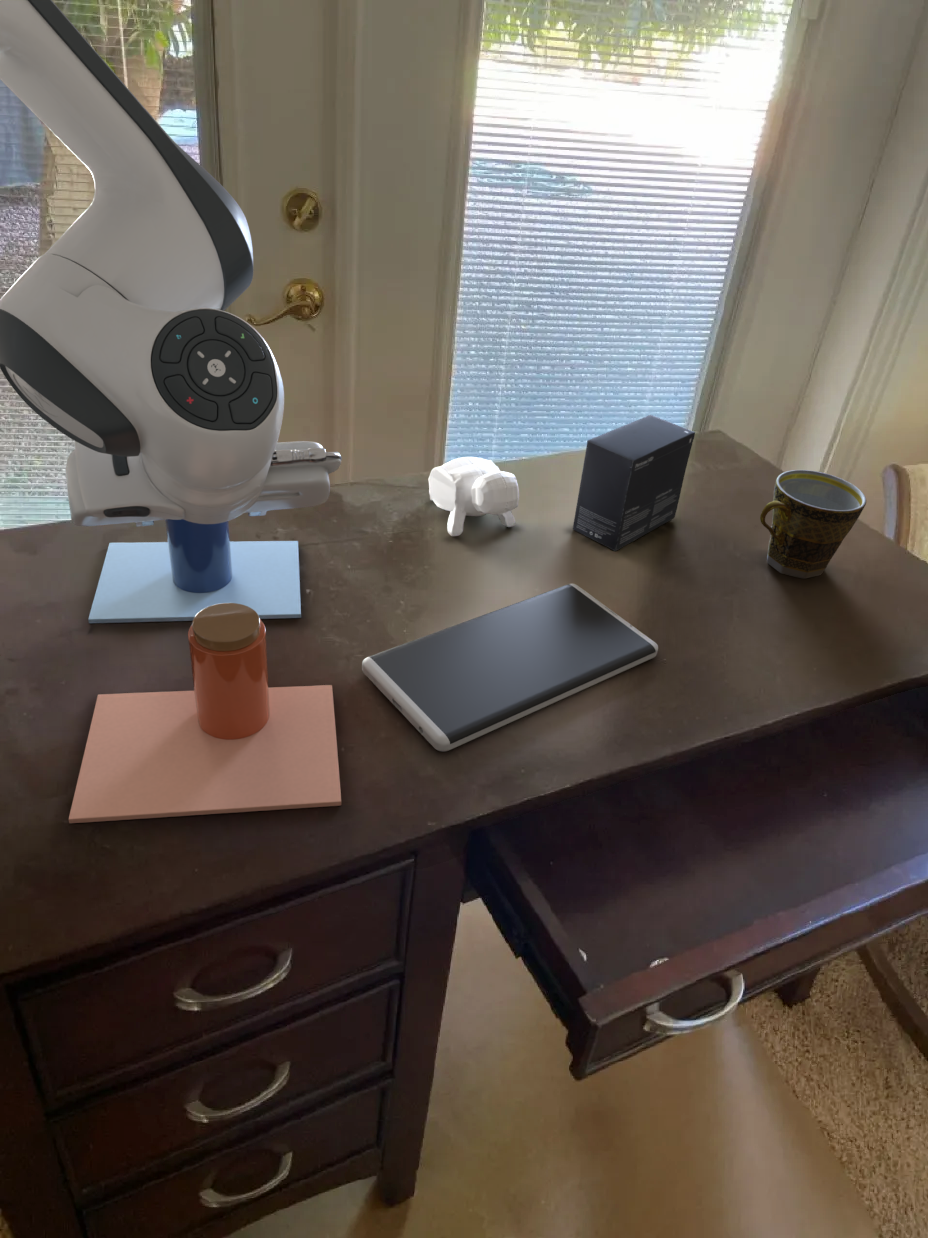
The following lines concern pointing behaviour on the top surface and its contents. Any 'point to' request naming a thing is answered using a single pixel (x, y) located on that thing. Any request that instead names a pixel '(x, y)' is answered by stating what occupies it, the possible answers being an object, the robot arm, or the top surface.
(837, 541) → the ceramic cup
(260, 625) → the terracotta jar
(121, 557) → the blue mat
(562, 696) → the smartphone
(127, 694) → the clay mat
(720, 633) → the top surface
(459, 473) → the white sheep figurine
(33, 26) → the robot arm
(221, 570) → the blue jar
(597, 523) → the small box
